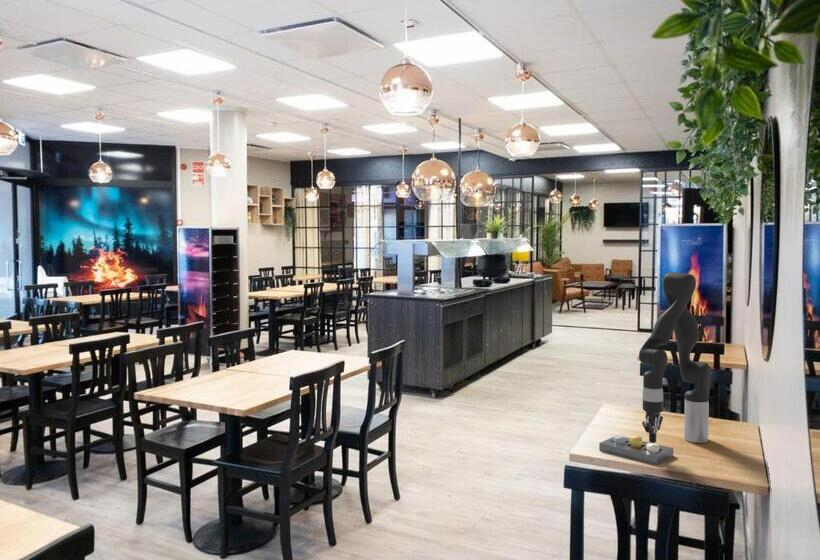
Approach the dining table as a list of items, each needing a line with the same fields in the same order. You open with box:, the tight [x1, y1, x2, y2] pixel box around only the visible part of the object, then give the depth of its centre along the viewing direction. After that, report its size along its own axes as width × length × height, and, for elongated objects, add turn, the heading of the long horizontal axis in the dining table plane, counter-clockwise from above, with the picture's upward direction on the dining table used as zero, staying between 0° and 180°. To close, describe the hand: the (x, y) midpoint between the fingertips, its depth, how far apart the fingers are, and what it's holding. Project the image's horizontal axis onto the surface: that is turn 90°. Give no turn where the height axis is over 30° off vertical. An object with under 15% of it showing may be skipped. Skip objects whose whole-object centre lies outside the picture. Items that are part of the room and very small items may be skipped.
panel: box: [598, 435, 674, 466], centre depth 253 cm, size 14×24×3 cm, turn 43°
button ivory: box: [646, 442, 660, 453], centre depth 248 cm, size 5×5×4 cm
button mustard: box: [629, 434, 643, 449], centre depth 253 cm, size 5×5×4 cm
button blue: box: [613, 435, 626, 445], centre depth 258 cm, size 5×5×4 cm
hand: (652, 442), depth 248 cm, fingers closed
